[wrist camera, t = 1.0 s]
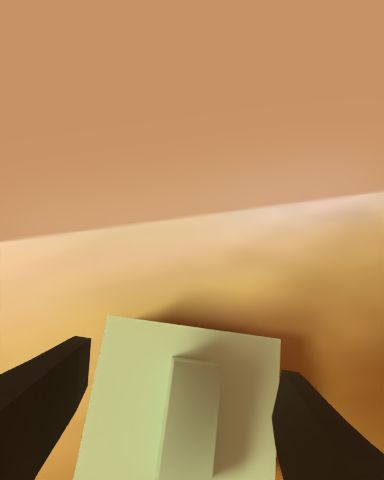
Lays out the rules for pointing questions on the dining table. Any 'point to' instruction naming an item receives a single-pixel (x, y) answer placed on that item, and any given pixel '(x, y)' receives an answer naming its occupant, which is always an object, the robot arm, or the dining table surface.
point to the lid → (180, 404)
